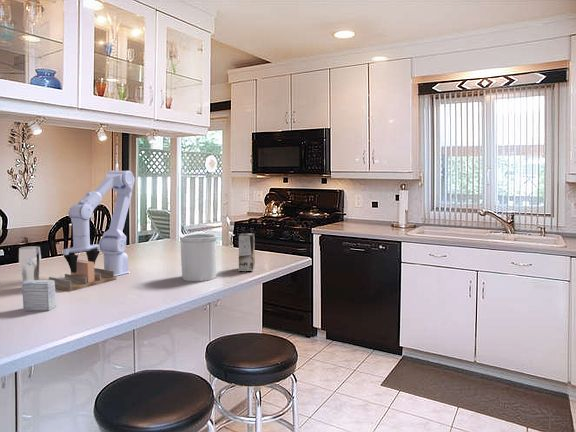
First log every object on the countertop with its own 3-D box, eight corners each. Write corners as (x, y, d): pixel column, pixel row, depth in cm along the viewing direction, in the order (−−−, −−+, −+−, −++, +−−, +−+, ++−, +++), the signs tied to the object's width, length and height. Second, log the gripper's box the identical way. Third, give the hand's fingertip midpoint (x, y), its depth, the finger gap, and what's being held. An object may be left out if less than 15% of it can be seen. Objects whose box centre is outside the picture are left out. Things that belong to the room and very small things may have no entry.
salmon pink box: (94, 281, 165) (94, 261, 164) (88, 282, 163) (87, 263, 162) (77, 278, 170) (76, 259, 169) (70, 279, 167) (70, 260, 167)
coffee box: (253, 272, 187) (253, 235, 186) (238, 272, 187) (238, 235, 186) (255, 267, 196) (255, 232, 195) (241, 267, 197) (240, 232, 195)
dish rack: (94, 275, 178) (94, 267, 178) (116, 279, 172) (116, 270, 172) (47, 286, 160) (46, 277, 160) (70, 291, 154) (69, 281, 154)
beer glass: (17, 290, 154) (15, 249, 153) (23, 286, 161) (21, 246, 160) (39, 289, 156) (37, 248, 155) (44, 285, 163) (42, 245, 161)
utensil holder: (209, 283, 168) (209, 238, 166) (174, 280, 171) (173, 237, 169) (222, 274, 182) (222, 233, 181) (189, 272, 185) (189, 232, 184)
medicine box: (56, 306, 136) (55, 279, 135) (49, 311, 132) (48, 283, 131) (31, 306, 136) (29, 279, 135) (22, 311, 131) (21, 283, 131)
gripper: (90, 232, 173) (91, 266, 174) (56, 237, 160) (58, 273, 161) (102, 233, 170) (103, 267, 171) (69, 238, 157) (70, 275, 158)
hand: (82, 270), depth 166 cm, fingers open, 7 cm apart
